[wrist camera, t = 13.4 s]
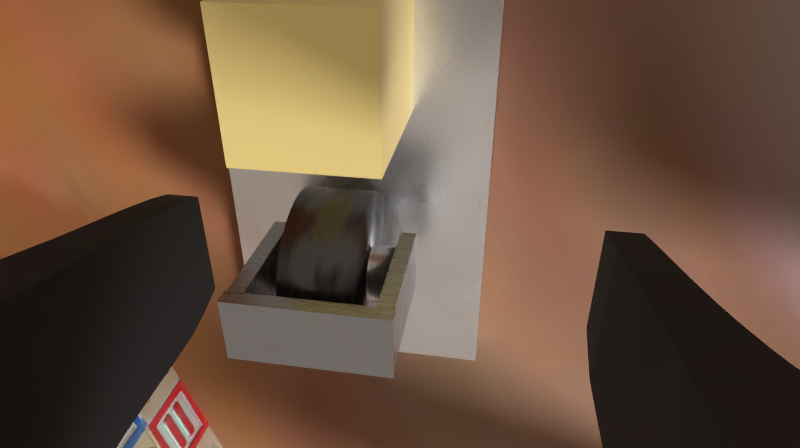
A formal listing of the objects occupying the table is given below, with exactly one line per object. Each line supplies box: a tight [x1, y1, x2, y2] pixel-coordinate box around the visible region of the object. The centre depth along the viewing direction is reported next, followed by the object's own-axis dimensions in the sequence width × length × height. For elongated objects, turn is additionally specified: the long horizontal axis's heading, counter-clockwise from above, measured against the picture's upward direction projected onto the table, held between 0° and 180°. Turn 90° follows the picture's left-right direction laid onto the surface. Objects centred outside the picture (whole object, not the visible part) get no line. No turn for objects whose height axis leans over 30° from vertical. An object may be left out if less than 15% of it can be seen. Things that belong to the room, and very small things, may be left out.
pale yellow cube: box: [200, 0, 414, 179], centre depth 16 cm, size 4×4×5 cm
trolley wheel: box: [217, 0, 504, 378], centre depth 19 cm, size 9×15×7 cm, turn 0°
